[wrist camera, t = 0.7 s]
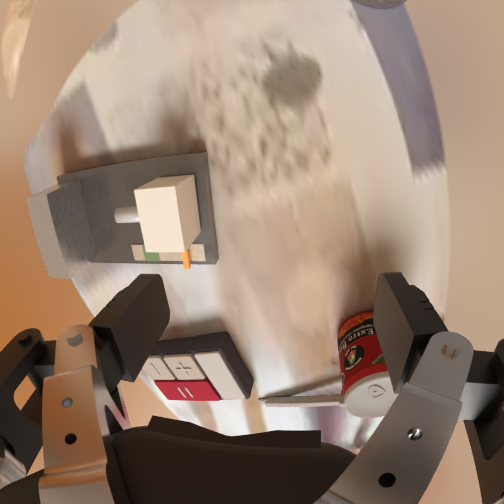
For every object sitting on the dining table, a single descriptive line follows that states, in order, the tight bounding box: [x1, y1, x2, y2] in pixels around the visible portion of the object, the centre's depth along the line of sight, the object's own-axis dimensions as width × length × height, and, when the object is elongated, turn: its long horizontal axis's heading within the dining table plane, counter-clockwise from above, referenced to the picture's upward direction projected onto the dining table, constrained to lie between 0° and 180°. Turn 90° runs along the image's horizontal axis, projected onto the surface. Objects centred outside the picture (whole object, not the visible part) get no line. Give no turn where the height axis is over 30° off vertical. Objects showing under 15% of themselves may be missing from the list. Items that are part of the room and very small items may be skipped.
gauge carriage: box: [114, 175, 201, 269], centre depth 28 cm, size 10×8×5 cm
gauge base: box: [26, 151, 219, 279], centre depth 29 cm, size 12×20×8 cm, turn 94°
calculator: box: [143, 332, 254, 401], centre depth 41 cm, size 11×4×15 cm
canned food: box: [337, 312, 399, 418], centre depth 31 cm, size 8×8×11 cm
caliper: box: [258, 390, 345, 407], centre depth 39 cm, size 20×1×6 cm, turn 113°
